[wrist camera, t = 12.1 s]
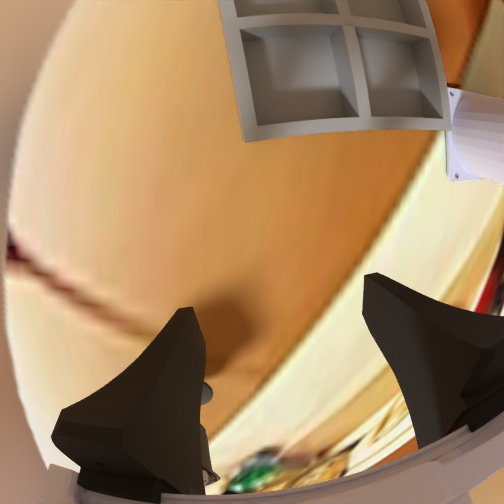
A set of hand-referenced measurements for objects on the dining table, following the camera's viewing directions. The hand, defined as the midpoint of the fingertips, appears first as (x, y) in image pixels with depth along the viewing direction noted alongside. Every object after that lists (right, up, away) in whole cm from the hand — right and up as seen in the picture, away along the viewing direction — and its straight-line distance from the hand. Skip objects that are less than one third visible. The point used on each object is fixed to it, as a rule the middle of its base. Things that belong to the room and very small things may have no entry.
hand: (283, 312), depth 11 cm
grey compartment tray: (+4, +20, +1) cm, 21 cm away
